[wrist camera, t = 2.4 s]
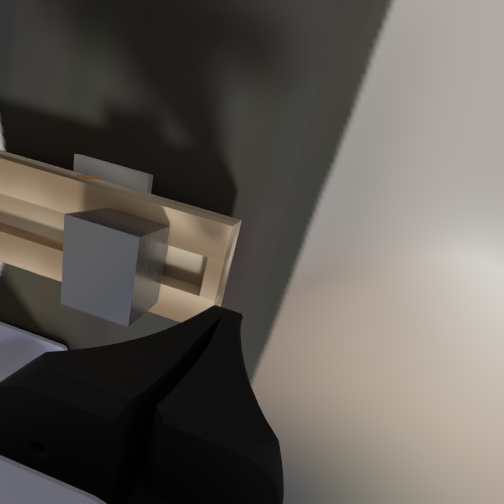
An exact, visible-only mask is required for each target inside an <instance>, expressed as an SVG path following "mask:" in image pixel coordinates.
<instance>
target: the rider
mask: <svg viewBox="0 0 504 504" xmlns="http://www.w3.org/2000/svg"><path fill="white" fill-rule="evenodd" d="M169 230H170V226H166V225H163V224H160V223H156V222H153V221H150V220H146V219H143V218H140V217H136V216H133V215H130V214H126V213H123V212H120V211H117V210H113V209H110V208H103V209H95V210H88V211H81V212H74V213H67V214H64V236H63V261H62V286H61V304H63V305H66V306H69V307H72V308H75V309H78V310H80V311H83V312H86V313H89V314H92V315H95V316H98V317H100V318H103V319H106V320H109V321H112V322H115V323H118V324H120V325H123V326H126V327H129V326H130V325H131V324H132V323H134V322H135V321H136V320H137V319H138V318H140V317H141V316H142V315H143V314H144V313H145V312H147V311H148V310H149V309H150V308H151V307H153V306H154V305H155V304H156V303H157V302H158V297H159V291H160V285H161V279H162V273H163V272H164V270H165V264H166V258H167V252H168V246H167V242H168V236H169Z"/></svg>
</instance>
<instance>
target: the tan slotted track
mask: <svg viewBox="0 0 504 504" xmlns="http://www.w3.org/2000/svg"><path fill="white" fill-rule="evenodd" d="M152 183H153V175H152V174H148V173H145V172H141V171H138V170H134V169H131V168H127V167H123V166H120V165H116V164H113V163H109V162H106V161H102V160H99V159H95V158H92V157H88V156H84V155H81V154H74V170H73V171H70V170H67V169H63V168H60V167H57V166H53V165H50V164H46V163H43V162H39V161H36V160H32V159H29V158H26V157H22V156H19V155H15V154H12V153H8V152H5V151H1V150H0V261H2V262H5V263H8V264H11V265H14V266H17V267H19V268H22V269H25V270H28V271H31V272H34V273H37V274H40V275H43V276H46V277H49V278H52V279H55V280H58V281H61V282H62V261H63V236H64V214H67V213H74V212H81V211H88V210H95V209H103V208H110V209H113V210H117V211H120V212H123V213H126V214H130V215H133V216H136V217H140V218H143V219H146V220H150V221H153V222H156V223H160V224H163V225H166V226H170V230H169V236H168V242H167V246H168V252H167V258H166V264H165V270H164V272H163V273H162V279H161V285H160V291H159V297H158V302H157V303H156V304H155V305H154V306H153V307H151V308H150V309H149V310H148V311H149V312H152V313H155V314H158V315H161V316H164V317H167V318H170V319H173V320H175V321H178V322H181V323H182V322H184V321H186V320H188V319H190V318H191V317H193V316H195V315H197V314H199V313H201V312H203V311H204V310H206V309H208V308H210V307H212V306H214V305H217V306H220V307H221V303H222V299H223V295H224V290H225V286H226V282H227V278H228V274H229V270H230V266H231V262H232V258H233V254H234V250H235V246H236V242H237V238H238V234H239V229H240V225H241V221H242V220H239V219H236V218H232V217H229V216H225V215H222V214H219V213H215V212H212V211H208V210H205V209H201V208H198V207H194V206H191V205H188V204H184V203H181V202H177V201H174V200H170V199H167V198H163V197H160V196H156V195H153V194H151V190H152Z"/></svg>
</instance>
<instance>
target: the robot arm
mask: <svg viewBox="0 0 504 504" xmlns="http://www.w3.org/2000/svg"><path fill="white" fill-rule="evenodd" d="M242 318H243V316H242V314H241V313H238V312H235V311H232V310H229V309H226V308H223V307H220V306H217V305H214V306H212V307H210V308H208V309H206V310H204V311H203V312H201V313H199V314H197V315H195V316H193V317H191V318H190V319H188V320H186V321H184V322H182V323H180V324H177V325H175V326H173V327H171V328H168V329H166V330H163V331H160V332H158V333H155V334H152V335H149V336H145V337H142V338H138V339H134V340H130V341H126V342H122V343H117V344H112V345H106V346H100V347H93V348H86V349H76V350H68V349H67V347H66V346H65V345H63V344H60V343H58V342H55V341H52V340H49V339H47V338H44V337H41V336H38V335H36V334H33V333H30V332H28V331H25V330H22V329H19V328H17V327H14V326H11V325H8V324H6V323H3V322H0V504H283V495H284V487H283V471H282V470H283V469H282V460H281V453H280V446H279V441H278V439H277V437H276V435H275V434H274V432H273V431H272V429H271V427H270V426H269V424H268V422H267V421H266V419H265V417H264V415H263V413H262V411H261V409H260V407H259V405H258V402H257V400H256V397H255V395H254V392H253V390H252V388H251V385H250V382H249V379H248V376H247V372H246V368H245V364H244V360H243V354H242V347H241V336H240V328H241V322H242Z"/></svg>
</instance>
